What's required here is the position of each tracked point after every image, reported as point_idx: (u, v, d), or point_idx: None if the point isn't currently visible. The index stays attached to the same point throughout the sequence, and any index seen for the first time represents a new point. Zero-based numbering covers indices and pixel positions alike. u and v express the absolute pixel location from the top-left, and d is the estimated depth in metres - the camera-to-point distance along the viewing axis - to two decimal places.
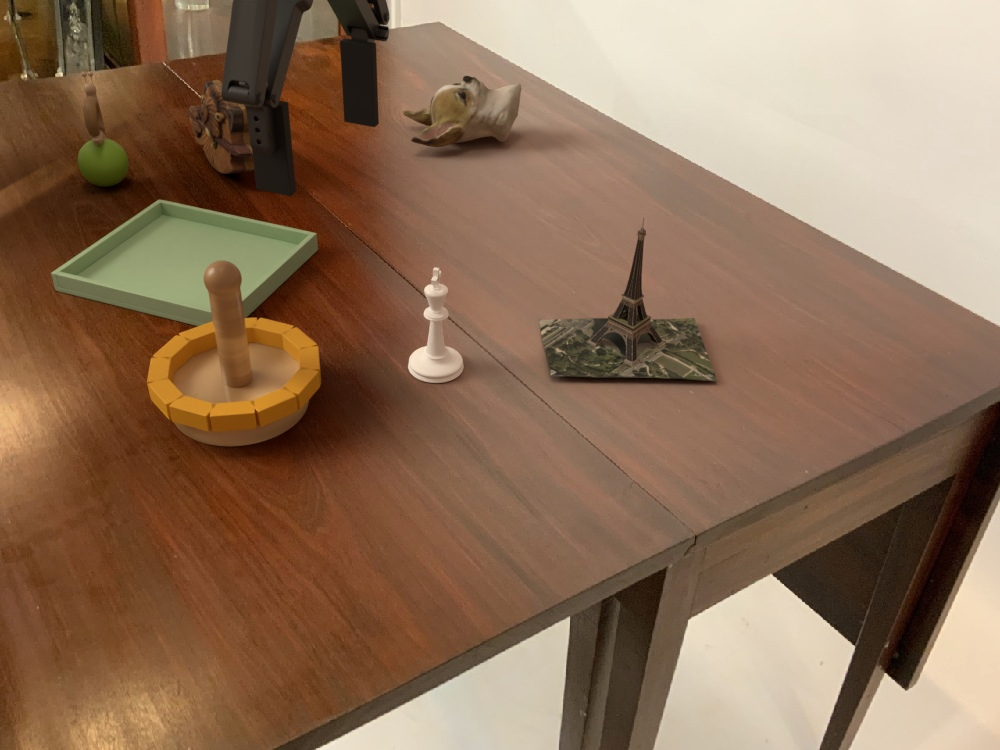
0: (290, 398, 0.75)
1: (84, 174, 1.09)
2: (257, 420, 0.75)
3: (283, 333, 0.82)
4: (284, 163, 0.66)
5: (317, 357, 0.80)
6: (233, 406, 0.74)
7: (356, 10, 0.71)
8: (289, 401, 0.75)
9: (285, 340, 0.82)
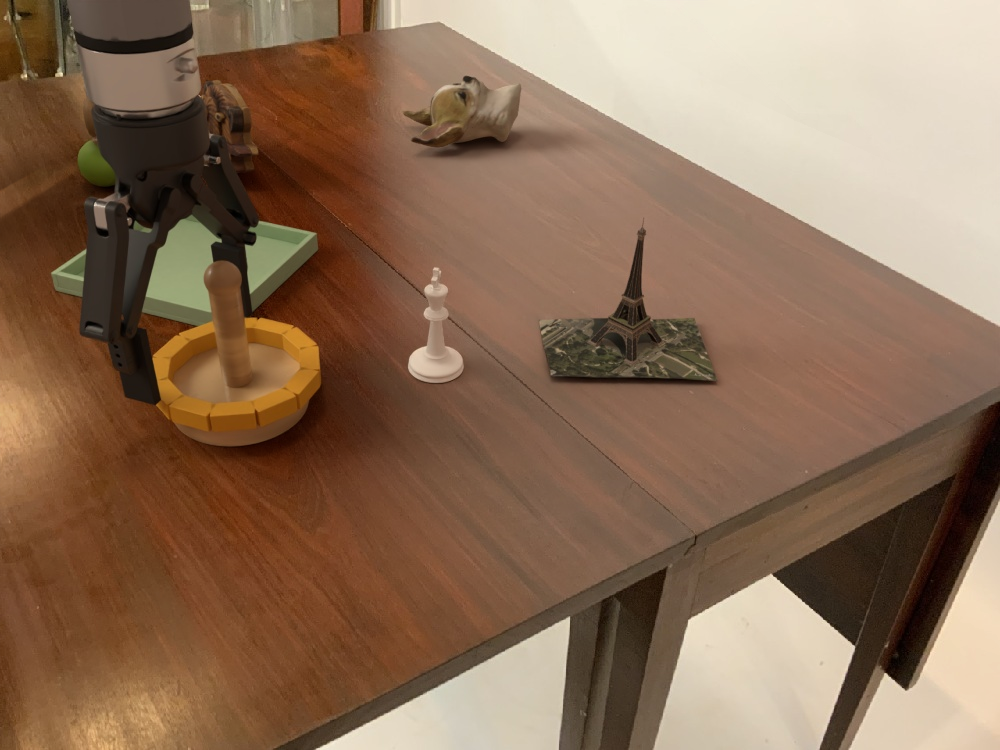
0: (291, 398, 0.75)
1: (84, 174, 1.09)
2: (257, 420, 0.75)
3: (283, 333, 0.82)
4: (146, 379, 0.73)
5: (317, 357, 0.80)
6: (233, 406, 0.74)
7: (220, 224, 0.77)
8: (289, 401, 0.75)
9: (285, 340, 0.82)
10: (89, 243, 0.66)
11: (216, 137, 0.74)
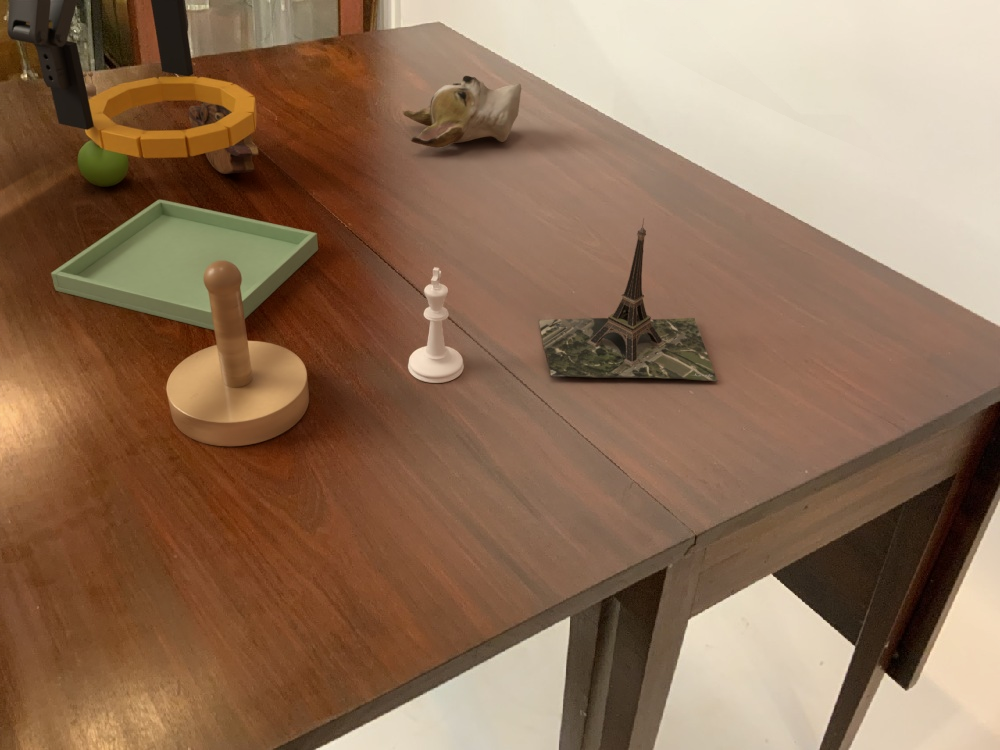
0: (222, 130, 0.77)
1: (84, 174, 1.09)
2: (188, 148, 0.76)
3: (221, 87, 0.84)
4: (78, 99, 0.74)
5: (252, 104, 0.81)
6: (164, 133, 0.75)
7: None
8: (220, 133, 0.77)
9: (223, 94, 0.83)
10: None
11: None
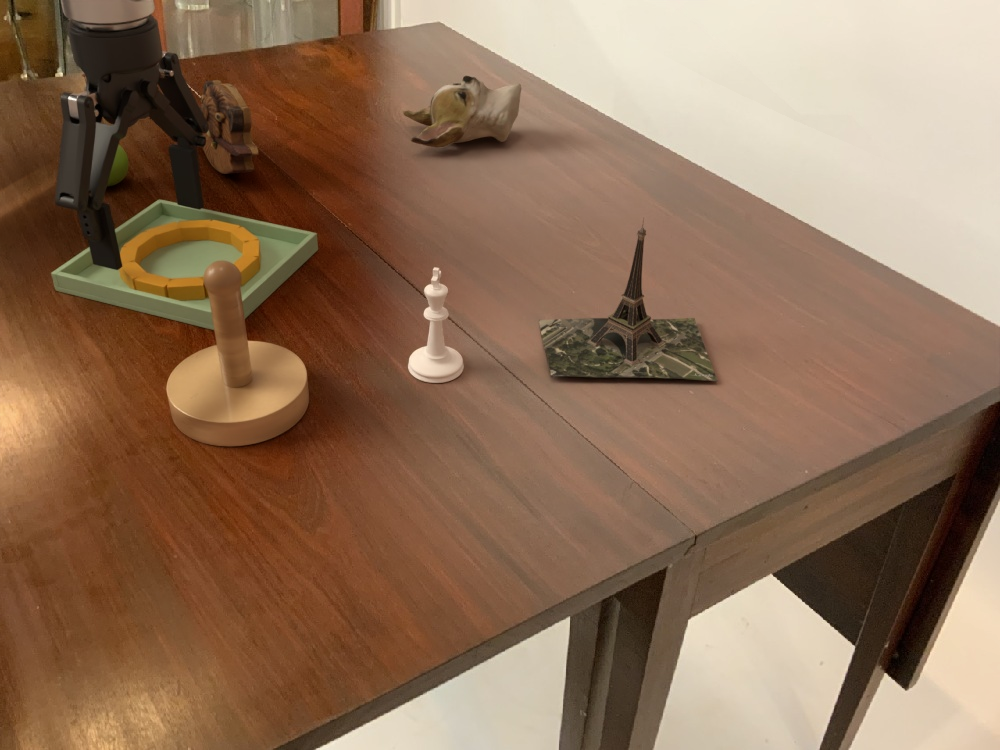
0: None
1: None
2: (205, 292, 0.93)
3: (231, 231, 1.00)
4: (110, 247, 0.90)
5: (257, 247, 0.98)
6: (186, 280, 0.92)
7: (174, 127, 0.95)
8: None
9: (232, 236, 1.00)
10: (64, 129, 0.84)
11: (169, 54, 0.92)
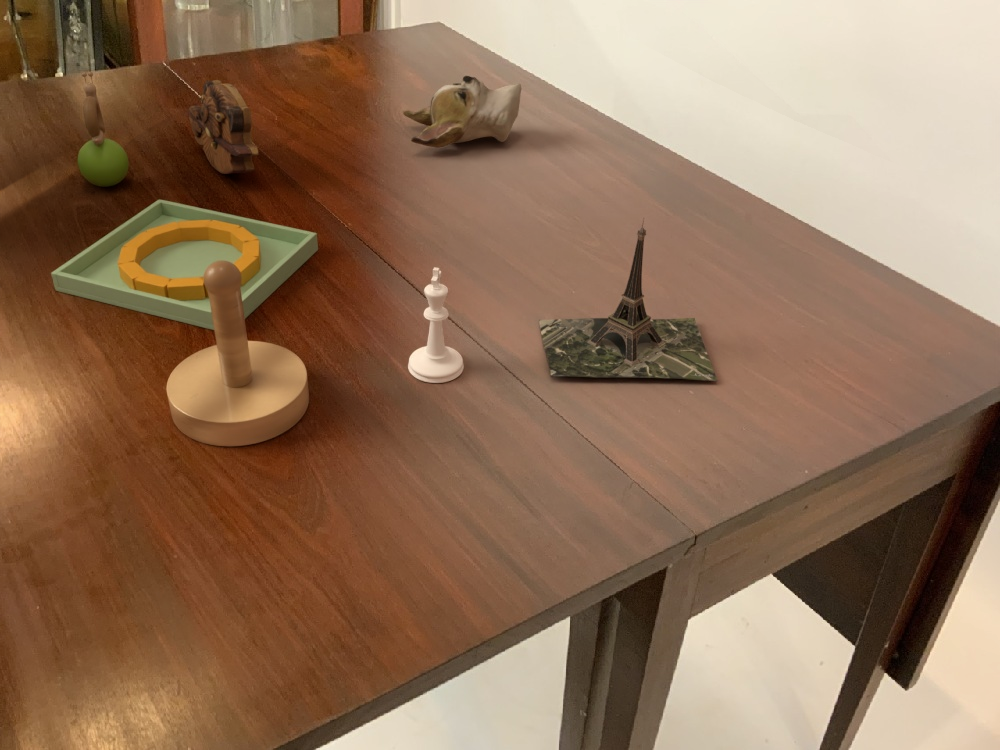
0: None
1: (84, 174, 1.09)
2: (205, 292, 0.93)
3: (231, 231, 1.00)
4: None
5: (257, 247, 0.98)
6: (186, 280, 0.92)
7: None
8: None
9: (232, 236, 1.00)
10: None
11: None
